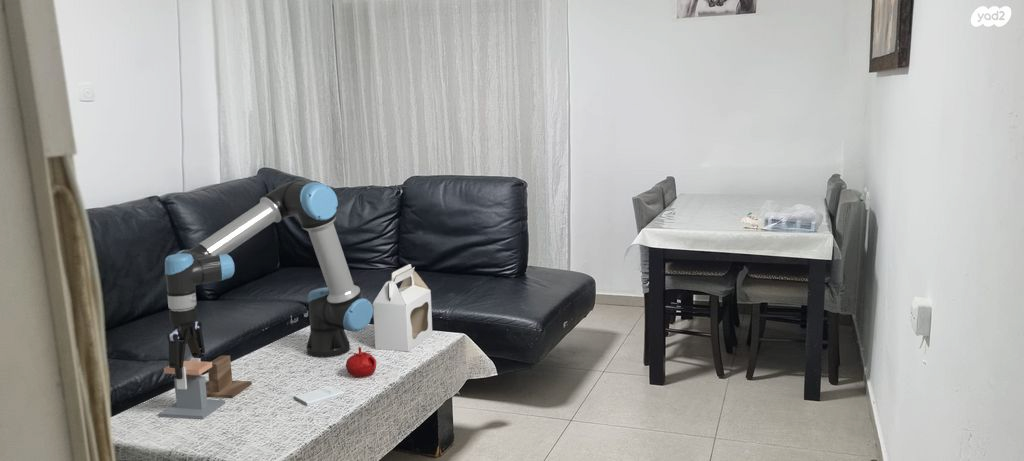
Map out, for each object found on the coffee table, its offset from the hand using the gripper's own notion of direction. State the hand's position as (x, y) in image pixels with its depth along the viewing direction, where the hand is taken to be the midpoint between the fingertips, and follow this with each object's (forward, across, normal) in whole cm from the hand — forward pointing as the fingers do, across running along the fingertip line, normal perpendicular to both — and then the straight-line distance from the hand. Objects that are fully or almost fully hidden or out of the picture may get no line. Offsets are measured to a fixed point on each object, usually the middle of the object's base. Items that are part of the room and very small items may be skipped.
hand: (189, 383), depth 232 cm
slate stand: (+8, 0, 0) cm, 8 cm away
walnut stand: (+8, +16, 0) cm, 18 cm away
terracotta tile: (-4, 0, 0) cm, 4 cm away
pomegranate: (+8, +35, -39) cm, 53 cm away
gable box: (+8, +71, -42) cm, 83 cm away
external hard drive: (+9, +15, -33) cm, 37 cm away
